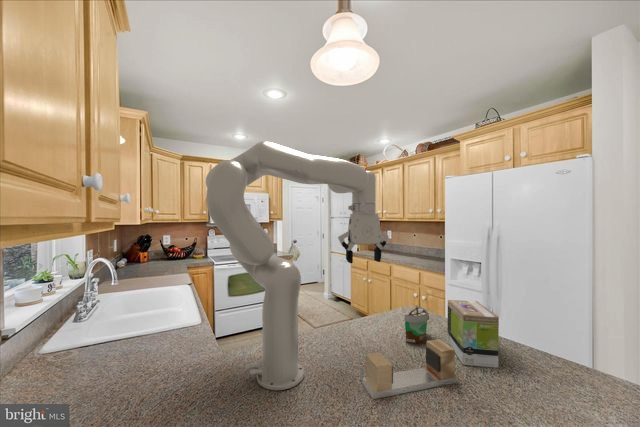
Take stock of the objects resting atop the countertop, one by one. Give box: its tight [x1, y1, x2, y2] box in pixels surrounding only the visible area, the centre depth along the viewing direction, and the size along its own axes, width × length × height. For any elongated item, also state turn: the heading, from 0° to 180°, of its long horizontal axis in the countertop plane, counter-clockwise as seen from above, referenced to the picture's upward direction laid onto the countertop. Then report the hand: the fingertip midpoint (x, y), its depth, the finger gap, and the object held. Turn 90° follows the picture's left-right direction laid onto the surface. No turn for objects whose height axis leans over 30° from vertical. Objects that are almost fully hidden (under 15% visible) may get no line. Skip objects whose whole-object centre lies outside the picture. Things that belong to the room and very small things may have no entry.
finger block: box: [425, 338, 456, 379], centre depth 73 cm, size 5×6×7 cm
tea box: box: [446, 299, 500, 369], centre depth 85 cm, size 15×10×15 cm, turn 171°
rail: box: [361, 352, 458, 400], centre depth 70 cm, size 24×6×8 cm, turn 105°
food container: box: [404, 305, 430, 345], centre depth 94 cm, size 12×6×10 cm, turn 143°
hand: (363, 261), depth 88 cm, fingers open, 9 cm apart
